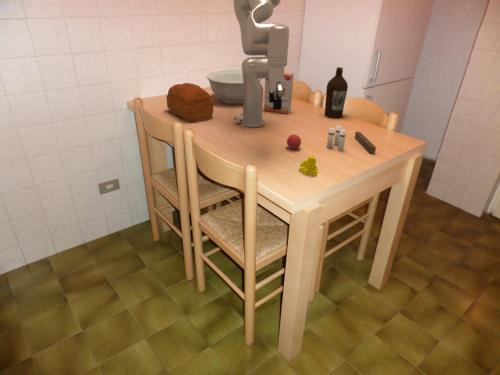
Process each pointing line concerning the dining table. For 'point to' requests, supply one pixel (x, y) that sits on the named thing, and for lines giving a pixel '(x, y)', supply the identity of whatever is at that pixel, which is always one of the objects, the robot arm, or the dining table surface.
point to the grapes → (309, 166)
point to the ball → (293, 141)
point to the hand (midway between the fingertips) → (274, 105)
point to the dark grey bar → (365, 142)
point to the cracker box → (285, 95)
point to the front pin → (330, 137)
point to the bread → (190, 102)
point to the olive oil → (336, 95)
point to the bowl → (227, 85)
